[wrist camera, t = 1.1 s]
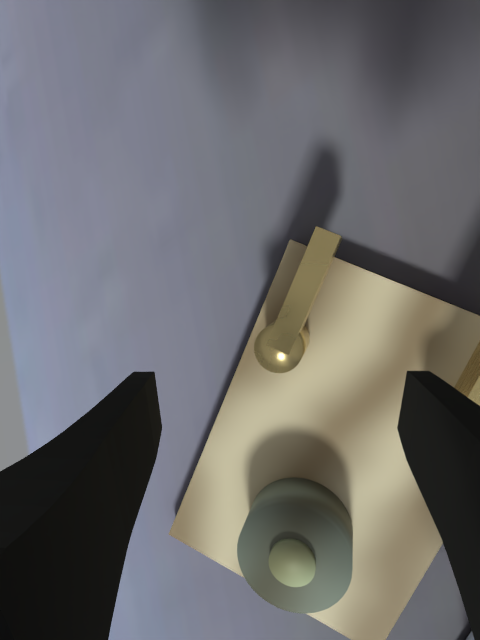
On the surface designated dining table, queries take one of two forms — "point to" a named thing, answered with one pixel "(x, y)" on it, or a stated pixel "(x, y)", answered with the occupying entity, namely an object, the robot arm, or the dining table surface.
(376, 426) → the base
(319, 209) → the dining table surface
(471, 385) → the knob
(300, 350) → the knob
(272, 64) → the dining table surface
